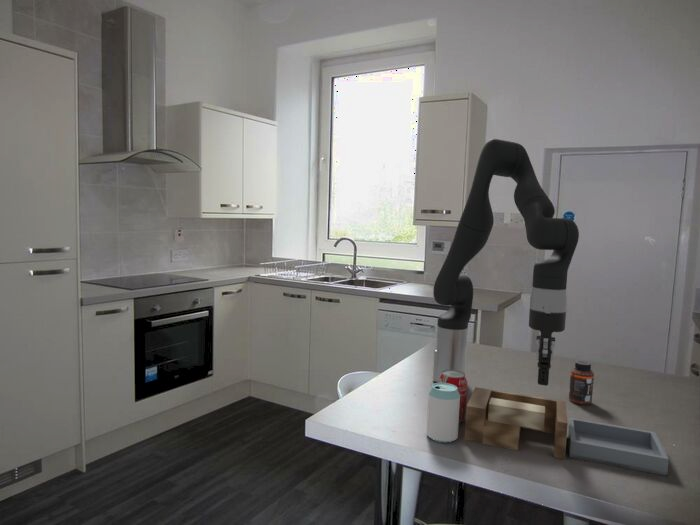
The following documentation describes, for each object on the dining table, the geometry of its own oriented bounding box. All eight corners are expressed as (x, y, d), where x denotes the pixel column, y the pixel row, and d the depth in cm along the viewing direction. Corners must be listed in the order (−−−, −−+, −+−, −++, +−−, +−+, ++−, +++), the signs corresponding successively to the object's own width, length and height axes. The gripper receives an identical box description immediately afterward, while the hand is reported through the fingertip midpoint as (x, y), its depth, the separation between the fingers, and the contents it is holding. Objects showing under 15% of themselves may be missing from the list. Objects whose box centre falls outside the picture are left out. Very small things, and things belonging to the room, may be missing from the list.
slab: (487, 420, 114) (488, 403, 113) (490, 413, 118) (491, 397, 117) (543, 430, 109) (544, 413, 109) (543, 423, 113) (545, 406, 113)
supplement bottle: (594, 406, 136) (597, 366, 135) (571, 404, 137) (574, 364, 136) (588, 399, 142) (591, 360, 141) (566, 396, 143) (569, 358, 142)
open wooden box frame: (464, 439, 112) (466, 405, 111) (473, 417, 125) (475, 387, 124) (564, 459, 104) (567, 423, 104) (563, 433, 117) (565, 401, 116)
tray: (569, 456, 106) (570, 441, 105) (567, 431, 119) (568, 417, 118) (667, 475, 99) (668, 459, 99) (653, 446, 112) (654, 432, 112)
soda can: (433, 414, 126) (435, 368, 125) (460, 414, 127) (462, 368, 126) (440, 425, 119) (443, 377, 118) (469, 425, 120) (472, 377, 119)
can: (442, 447, 108) (445, 394, 107) (420, 435, 114) (422, 384, 113) (464, 439, 112) (467, 388, 111) (441, 428, 118) (443, 379, 117)
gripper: (530, 302, 117) (526, 373, 118) (528, 311, 104) (523, 390, 106) (565, 305, 114) (560, 378, 115) (567, 314, 102) (561, 396, 103)
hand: (542, 384), depth 111 cm, fingers closed
